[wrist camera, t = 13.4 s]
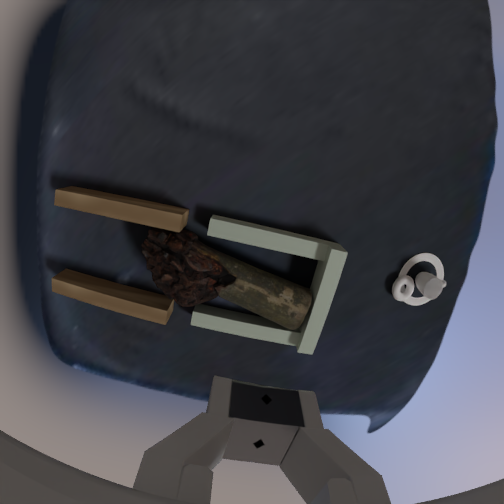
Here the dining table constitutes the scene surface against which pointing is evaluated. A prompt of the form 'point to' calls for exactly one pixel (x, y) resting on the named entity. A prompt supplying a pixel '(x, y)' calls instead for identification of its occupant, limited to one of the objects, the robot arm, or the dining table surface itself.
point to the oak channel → (107, 291)
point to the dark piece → (220, 278)
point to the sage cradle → (321, 287)
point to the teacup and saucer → (419, 281)
